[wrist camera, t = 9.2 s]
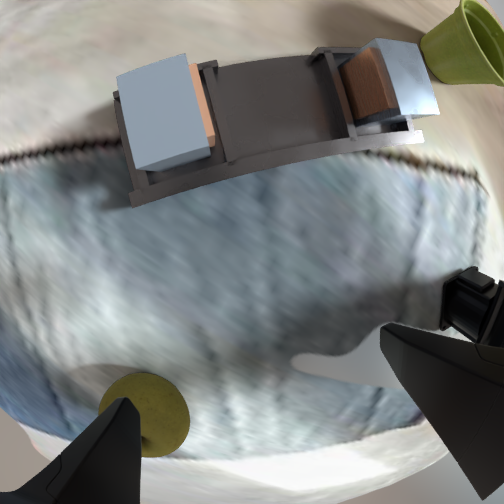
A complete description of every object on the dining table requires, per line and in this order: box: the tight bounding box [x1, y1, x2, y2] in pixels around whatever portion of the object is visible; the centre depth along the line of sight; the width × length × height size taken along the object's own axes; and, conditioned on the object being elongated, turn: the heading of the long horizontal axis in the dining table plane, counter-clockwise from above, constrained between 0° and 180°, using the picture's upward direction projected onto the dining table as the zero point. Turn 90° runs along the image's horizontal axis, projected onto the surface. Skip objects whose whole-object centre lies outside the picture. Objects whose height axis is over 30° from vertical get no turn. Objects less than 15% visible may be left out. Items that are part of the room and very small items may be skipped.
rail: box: [113, 38, 439, 208], centre depth 15 cm, size 8×22×7 cm, turn 103°
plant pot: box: [420, 0, 504, 87], centre depth 14 cm, size 9×9×9 cm
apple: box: [99, 373, 190, 457], centre depth 19 cm, size 8×8×7 cm
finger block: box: [116, 54, 215, 172], centre depth 14 cm, size 5×4×6 cm
